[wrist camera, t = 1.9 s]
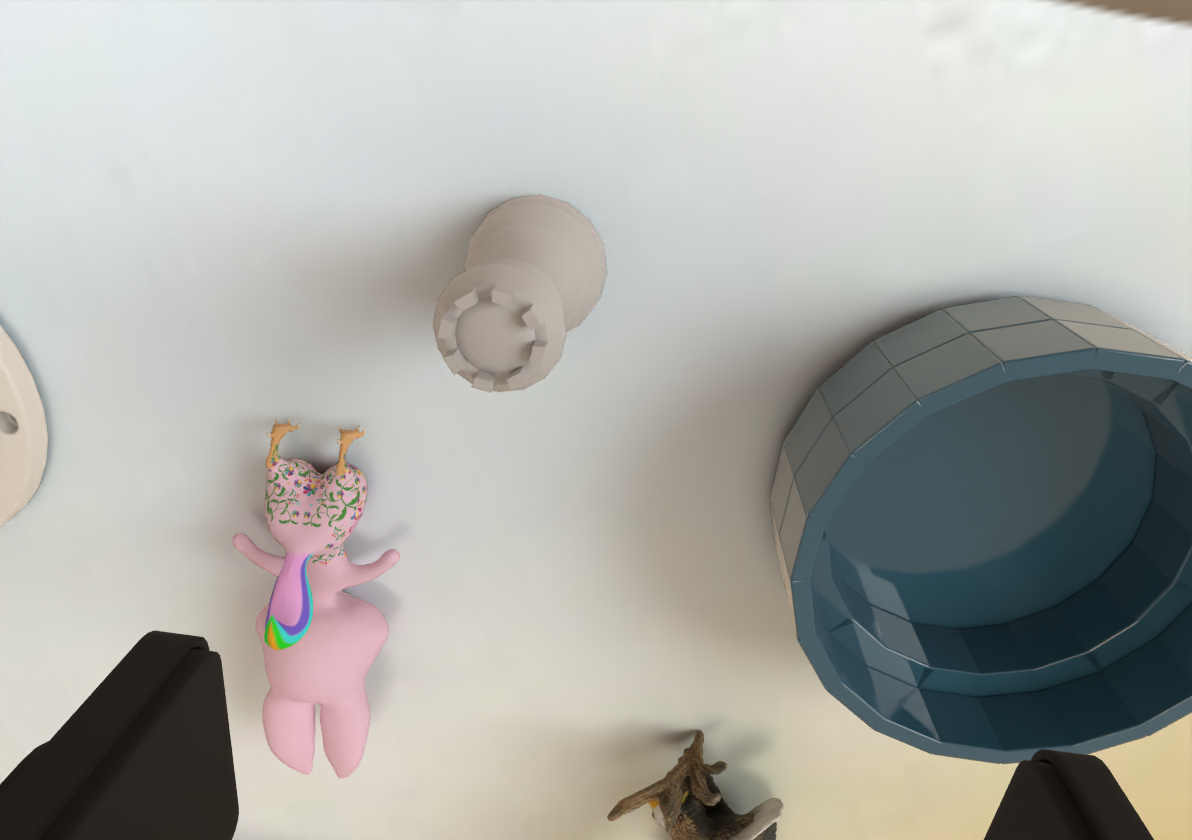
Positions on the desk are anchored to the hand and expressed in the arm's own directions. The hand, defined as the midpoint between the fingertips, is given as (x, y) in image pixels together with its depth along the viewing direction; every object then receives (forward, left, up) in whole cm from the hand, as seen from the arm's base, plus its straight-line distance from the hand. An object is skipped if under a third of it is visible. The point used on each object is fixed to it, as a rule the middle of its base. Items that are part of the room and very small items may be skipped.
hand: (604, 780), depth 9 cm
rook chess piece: (-3, +1, -19) cm, 19 cm away
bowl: (+13, -5, -19) cm, 23 cm away
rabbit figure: (-10, -13, -19) cm, 25 cm away
